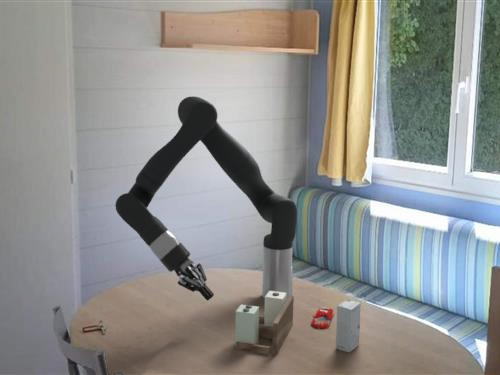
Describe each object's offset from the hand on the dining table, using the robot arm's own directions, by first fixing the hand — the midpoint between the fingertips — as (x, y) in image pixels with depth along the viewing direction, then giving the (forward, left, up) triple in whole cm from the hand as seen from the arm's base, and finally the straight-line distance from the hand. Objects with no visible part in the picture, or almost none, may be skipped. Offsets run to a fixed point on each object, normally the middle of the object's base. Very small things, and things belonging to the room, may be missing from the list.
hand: (211, 297), depth 175 cm
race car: (-26, +20, -11) cm, 35 cm away
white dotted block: (-12, +13, -9) cm, 20 cm away
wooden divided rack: (-6, +12, -11) cm, 17 cm away
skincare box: (-18, +33, -11) cm, 39 cm away
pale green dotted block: (0, +13, -9) cm, 16 cm away
